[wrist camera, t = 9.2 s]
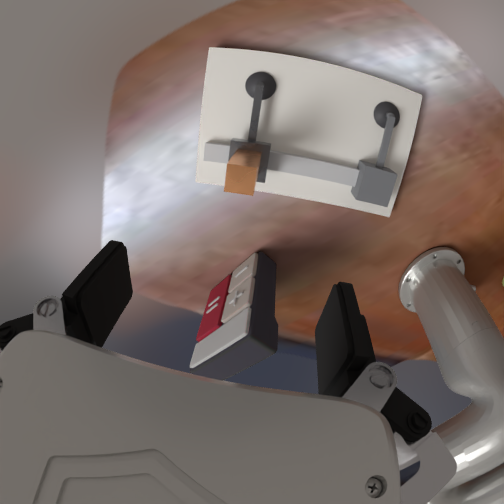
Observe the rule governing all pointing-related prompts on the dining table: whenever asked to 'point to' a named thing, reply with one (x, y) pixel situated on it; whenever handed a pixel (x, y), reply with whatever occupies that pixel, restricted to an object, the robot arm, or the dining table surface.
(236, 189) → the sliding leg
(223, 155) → the gauge board
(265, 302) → the calculator
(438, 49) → the dining table surface
